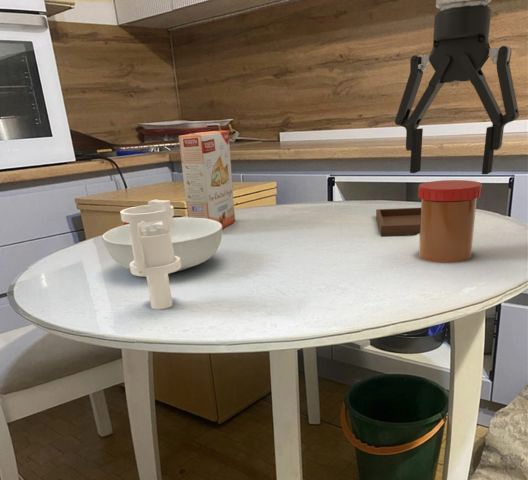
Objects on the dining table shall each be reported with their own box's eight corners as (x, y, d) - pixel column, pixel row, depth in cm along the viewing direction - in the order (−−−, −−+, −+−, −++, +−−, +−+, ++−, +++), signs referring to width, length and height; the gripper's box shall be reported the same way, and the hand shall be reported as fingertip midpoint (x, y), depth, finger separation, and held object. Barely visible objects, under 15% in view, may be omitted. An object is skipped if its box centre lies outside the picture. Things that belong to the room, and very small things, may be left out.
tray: (451, 233, 105) (452, 223, 104) (380, 236, 107) (381, 225, 106) (437, 216, 120) (438, 206, 119) (376, 218, 122) (376, 209, 122)
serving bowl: (128, 293, 84) (120, 250, 81) (97, 265, 101) (90, 229, 98) (245, 267, 93) (242, 228, 90) (198, 246, 110) (194, 212, 107)
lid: (487, 192, 87) (489, 180, 86) (471, 202, 80) (472, 190, 79) (429, 190, 92) (430, 179, 91) (409, 200, 85) (409, 188, 84)
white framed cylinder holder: (169, 316, 73) (152, 205, 67) (127, 312, 76) (107, 205, 70) (195, 299, 79) (181, 195, 73) (155, 296, 82) (139, 195, 75)
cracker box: (212, 235, 118) (201, 133, 109) (188, 234, 120) (176, 135, 111) (237, 221, 130) (229, 129, 121) (215, 221, 132) (205, 130, 123)
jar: (476, 254, 91) (483, 184, 86) (462, 267, 85) (469, 192, 80) (428, 249, 95) (432, 183, 90) (411, 262, 89) (414, 191, 84)
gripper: (558, -3, 71) (533, 170, 81) (395, 21, 84) (389, 168, 93) (549, -9, 66) (523, 177, 75) (375, 17, 78) (372, 174, 87)
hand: (449, 172), depth 84 cm, fingers open, 10 cm apart
